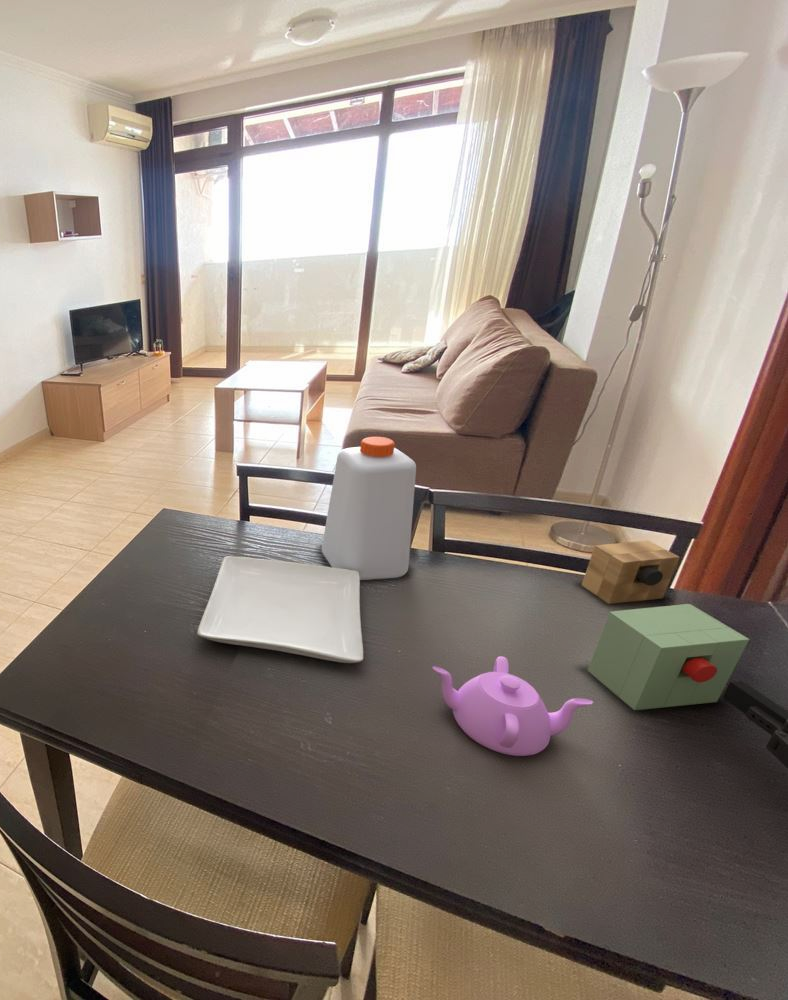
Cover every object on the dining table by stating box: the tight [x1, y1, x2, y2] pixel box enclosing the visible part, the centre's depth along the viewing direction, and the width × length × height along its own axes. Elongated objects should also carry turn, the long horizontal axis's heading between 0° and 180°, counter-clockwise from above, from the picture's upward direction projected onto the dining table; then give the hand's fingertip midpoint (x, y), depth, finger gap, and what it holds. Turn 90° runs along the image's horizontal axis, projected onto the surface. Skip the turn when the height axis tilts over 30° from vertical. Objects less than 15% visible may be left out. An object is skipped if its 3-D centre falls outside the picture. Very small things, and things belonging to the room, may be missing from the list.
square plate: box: [196, 555, 364, 664], centre depth 102 cm, size 27×27×4 cm
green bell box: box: [587, 603, 750, 711], centre depth 78 cm, size 12×8×12 cm, turn 93°
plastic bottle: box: [321, 436, 417, 581], centre depth 111 cm, size 15×15×28 cm
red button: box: [683, 658, 717, 683], centre depth 73 cm, size 3×2×3 cm, turn 93°
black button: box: [637, 567, 663, 586], centre depth 94 cm, size 3×2×3 cm, turn 93°
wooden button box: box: [581, 539, 681, 605], centre depth 98 cm, size 10×6×10 cm, turn 93°
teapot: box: [432, 656, 594, 757], centre depth 74 cm, size 12×14×9 cm
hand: (732, 689), depth 69 cm, fingers closed
